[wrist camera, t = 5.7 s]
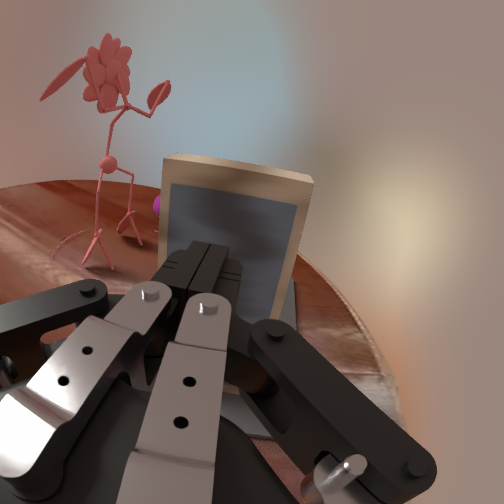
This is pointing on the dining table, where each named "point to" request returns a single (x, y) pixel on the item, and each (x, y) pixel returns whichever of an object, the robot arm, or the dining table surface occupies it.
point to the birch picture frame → (237, 223)
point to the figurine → (108, 108)
